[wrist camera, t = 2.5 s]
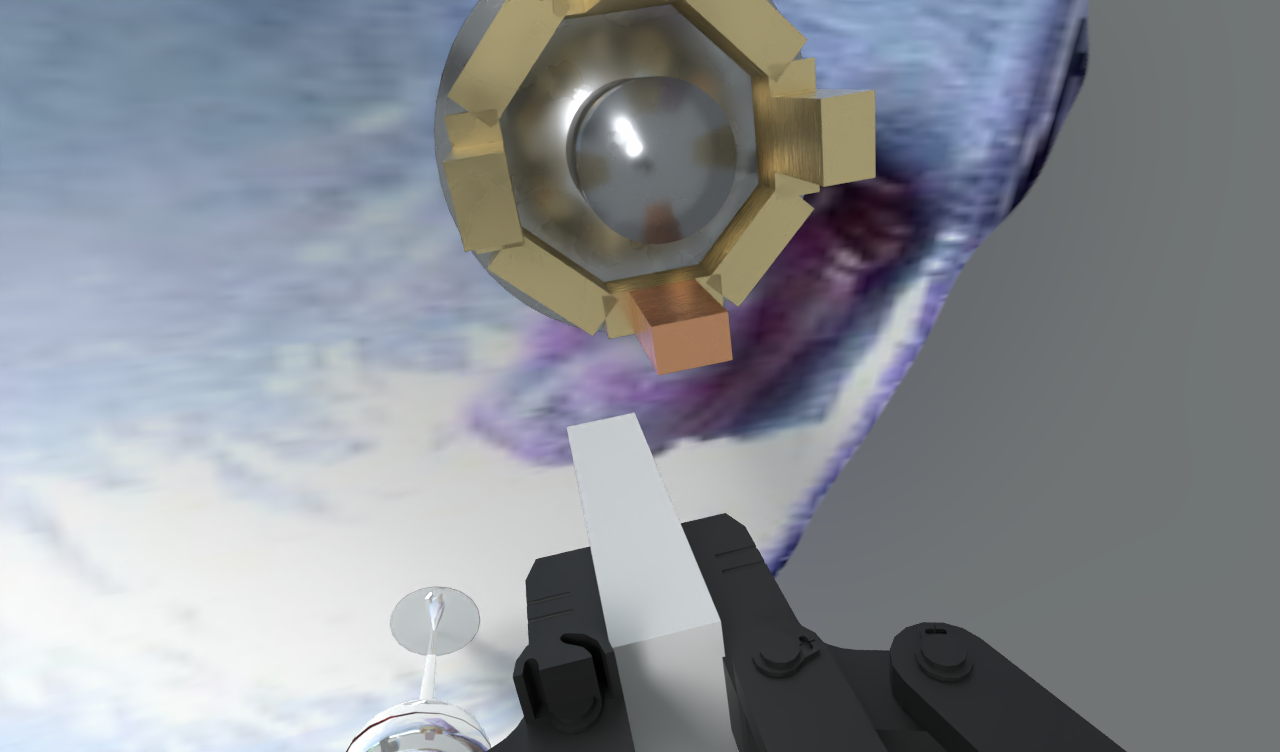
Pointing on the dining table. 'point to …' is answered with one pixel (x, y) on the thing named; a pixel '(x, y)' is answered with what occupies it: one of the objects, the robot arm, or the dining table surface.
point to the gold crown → (693, 295)
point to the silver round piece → (619, 141)
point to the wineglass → (428, 680)
